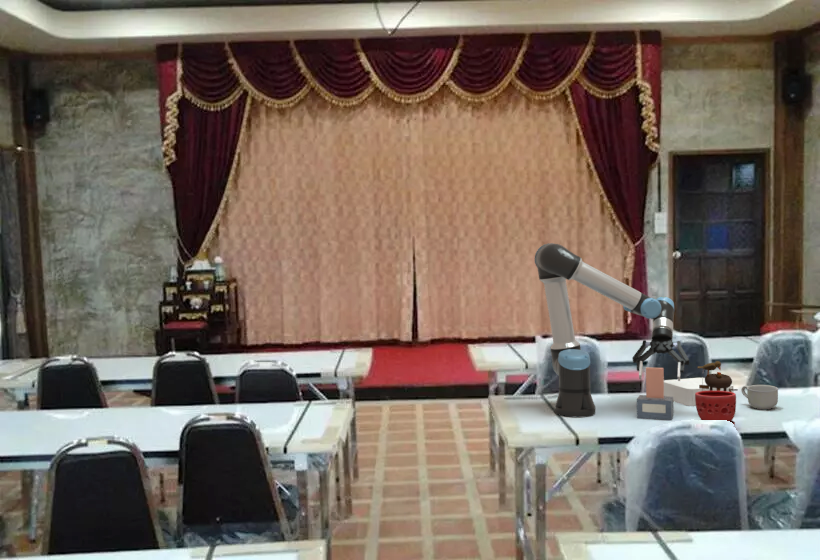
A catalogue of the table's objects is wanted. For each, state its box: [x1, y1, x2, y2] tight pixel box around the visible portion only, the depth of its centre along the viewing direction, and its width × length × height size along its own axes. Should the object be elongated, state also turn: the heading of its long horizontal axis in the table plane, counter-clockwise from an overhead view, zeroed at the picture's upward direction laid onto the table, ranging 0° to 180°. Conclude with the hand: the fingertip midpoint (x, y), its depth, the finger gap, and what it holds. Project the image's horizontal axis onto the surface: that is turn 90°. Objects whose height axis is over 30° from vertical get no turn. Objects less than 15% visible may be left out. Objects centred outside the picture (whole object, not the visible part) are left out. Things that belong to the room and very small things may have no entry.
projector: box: [664, 377, 734, 407], centre depth 314 cm, size 21×22×7 cm
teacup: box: [740, 384, 779, 410], centre depth 297 cm, size 14×11×8 cm
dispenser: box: [636, 394, 675, 421], centre depth 285 cm, size 12×8×7 cm
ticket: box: [645, 366, 665, 398], centre depth 285 cm, size 6×2×16 cm, turn 66°
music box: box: [696, 360, 739, 407], centre depth 287 cm, size 15×11×20 cm
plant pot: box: [695, 391, 737, 426], centre depth 268 cm, size 13×13×12 cm
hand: (659, 378), depth 287 cm, fingers open, 13 cm apart
